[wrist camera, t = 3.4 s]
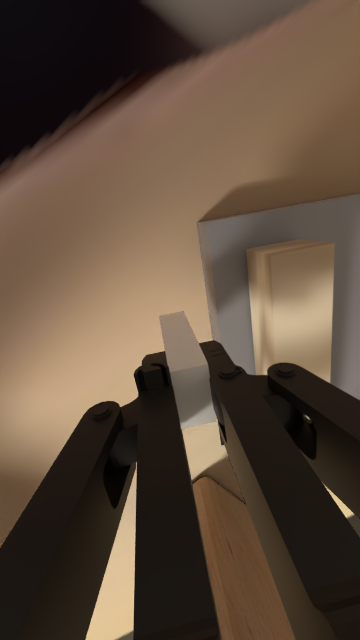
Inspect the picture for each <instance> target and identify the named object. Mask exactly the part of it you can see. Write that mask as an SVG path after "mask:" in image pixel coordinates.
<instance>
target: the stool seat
mask: <svg viewBox="0 0 360 640" xmlns="http://www.w3.org/2000/svg"><path fill="white" fill-rule="evenodd" d="M197 227H198V234H199V241H200V249H201V256H202V263H203V271H204V278H205V286H206V293H207V300H208V308H209V315H210V323H211V330H212V337H213V340H215V341H217V342H219V343H221V344H222V346H223V347H224V349H225V350H226V352H227V353H228V355H229V356H230V358H231V360H232V361H233V363H234V364H235V365H237V366H240V367H242V368H243V369H244V370H245V371H246V373H247V374H250V375H256V371H255V358H254V345H253V332H252V319H251V307H250V294H249V281H248V268H247V256H246V249H250V248H255V247H261V246H266V245H271V244H276V243H282V242H287V241H292V240H298V239H300V240H310V241H320V242H329V243H335V250H334V280H333V311H332V342H331V372H330V384H332V385H334V386H336V387H337V388H339V389H341V390H343V391H344V392H346V393H348V394H350V395H351V396H353V397H355V398H357V399H358V400H360V193H358V194H353V195H347V196H341V197H336V198H330V199H325V200H319V201H313V202H308V203H302V204H297V205H291V206H286V207H280V208H274V209H269V210H263V211H258V212H252V213H246V214H241V215H235V216H230V217H224V218H218V219H213V220H207V221H202V222H197Z"/></svg>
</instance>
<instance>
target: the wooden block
mask: <svg viewBox="0 0 360 640" xmlns="http://www.w3.org/2000/svg"><path fill="white" fill-rule="evenodd" d="M192 485H193V491H194V496H195V501H196V506H197V511H198V517H199V522H200V527H201V532H202V537H203V543H204V548H205V553H206V558H207V563H208V569H209V574H210V579H211V584H212V589H213V595H214V600H215V605H216V610H217V615H218V621H219V626H220V631H221V636H222V640H295V637H294V634H293V631H292V629H291V626H290V623H289V620H288V618H287V615H286V612H285V609H284V607H283V604H282V601H281V599H280V596H279V593H278V590H277V588H276V585H275V582H274V579H273V577H272V574H271V571H270V568H269V566H268V563H267V560H266V557H265V555H264V552H263V549H262V546H261V544H260V541H259V538H258V535H257V533H256V530H255V527H254V524H253V522H252V519H251V516H250V513H249V511H248V508H247V505H245V504H244V503H243V502H241V501H240V500H239V499H237V498H236V497H235V496H233V495H232V494H231V493H230V492H228V491H227V490H226V489H224V488H223V487H222V486H220V485H219V484H218V483H216V482H215V481H214V480H212V479H211V478H209V477H203V478H200V479H199V480H197V481H196V482H195V483H194V484H192Z"/></svg>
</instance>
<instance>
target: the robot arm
mask: <svg viewBox="0 0 360 640" xmlns="http://www.w3.org/2000/svg"><path fill="white" fill-rule="evenodd" d="M159 319H160V324H161V330H162V336H163V342H164V347H165V351H164V352H159V353H154V354H149V355H146V356H145V357H144V359H143V360H142V366H140V367H139V368H137V369H136V370H135V372H134V378H135V382H136V385H137V389H138V397H137V398H136V399H135V400H134V401H132V402H131V403H129V404H127V405H124V406H122V407H120V406H119V404H118V403H116V402H114V401H106V402H101V403H99V404H96V405H94V406H93V407H91V408H90V409H88V410H87V412H86V413H85V414H84V415H83V417H82V418H81V420H80V422H79V423H78V425H77V426H76V428H75V430H74V431H73V433H72V434H71V436H70V438H69V439H68V441H67V442H66V444H65V446H64V447H63V449H62V450H61V452H60V454H59V455H58V457H57V458H56V460H55V462H54V463H53V465H52V466H51V468H50V470H49V471H48V473H47V474H46V476H45V478H44V479H43V481H42V482H41V484H40V486H39V487H38V489H37V490H36V492H35V494H34V495H33V497H32V498H31V500H30V502H29V503H28V505H27V506H26V508H25V510H24V511H23V513H22V514H21V516H20V518H19V519H18V521H17V522H16V524H15V526H14V527H13V529H12V530H11V532H10V533H9V535H8V537H7V538H6V540H5V541H4V543H3V545H2V546H1V548H0V640H85V639H86V635H87V632H88V628H89V625H90V622H91V618H92V615H93V611H94V608H95V605H96V601H97V598H98V594H99V591H100V588H101V584H102V581H103V577H104V574H105V571H106V567H107V564H108V560H109V557H110V554H111V550H112V547H113V544H114V540H115V537H116V533H117V530H118V527H119V523H120V520H121V516H122V513H123V510H124V506H125V503H126V499H127V496H128V493H129V489H130V486H131V482H132V479H133V476H134V472H135V469H136V462H137V490H136V540H135V589H134V638H133V640H222V636H221V631H220V626H219V621H218V615H217V610H216V605H215V600H214V595H213V589H212V584H211V579H210V574H209V569H208V563H207V558H206V553H205V548H204V543H203V537H202V532H201V527H200V522H199V517H198V511H197V506H196V501H195V496H194V491H193V485H192V480H191V475H190V470H189V465H188V460H187V454H186V449H185V444H184V439H183V434H182V429H185V428H190V427H194V426H199V425H203V424H208V423H212V422H216V416H217V419H218V425H219V432H220V439H221V445H225V447H226V450H227V453H228V456H229V458H230V461H231V464H232V467H233V469H234V472H235V475H236V478H237V480H238V483H239V486H240V489H241V491H242V494H243V497H244V500H245V502H246V505H247V508H248V511H249V513H250V516H251V519H252V522H253V524H254V527H255V530H256V533H257V535H258V538H259V541H260V544H261V546H262V549H263V552H264V555H265V557H266V560H267V563H268V566H269V568H270V571H271V574H272V577H273V579H274V582H275V585H276V588H277V590H278V593H279V596H280V599H281V601H282V604H283V607H284V609H285V612H286V615H287V618H288V620H289V623H290V626H291V629H292V631H293V634H294V637H295V640H360V537H359V536H358V535H357V533H356V532H355V530H354V529H353V527H352V526H351V524H350V523H349V521H348V520H347V518H346V517H345V516H344V514H343V513H342V511H341V510H340V508H339V507H338V505H337V504H336V502H335V501H334V500H333V498H332V497H331V495H330V494H329V492H328V491H327V489H326V488H325V486H324V485H323V483H324V484H325V485H326V486H327V487H328V488H329V489H330V490H331V491H332V492H333V493H334V494H335V495H336V496H337V497H338V498H339V499H340V500H341V501H342V502H343V503H344V504H345V505H346V506H347V507H348V508H349V509H350V510H351V511H352V512H353V513H354V514H355V515H356V516H357V517H358V518H359V519H360V400H358V399H357V398H355V397H353V396H351V395H350V394H348V393H346V392H344V391H343V390H341V389H339V388H337V387H336V386H334V385H332V384H330V383H329V382H327V381H325V380H323V379H322V378H320V377H318V376H316V375H315V374H313V373H311V372H309V371H308V370H306V369H304V368H302V367H301V366H299V365H296V364H293V363H287V362H284V363H283V362H282V363H277V364H273V365H272V366H270V367H269V368H268V369H267V375H250V374H247V373H246V371H245V370H244V369H243V368H242V367H240V366H237V365H235V364H234V363H233V361H232V360H231V358H230V356H229V355H228V353H227V352H226V350H225V349H224V347H223V346H222V344H221V343H219V342H217V341H215V340H213V341H208V342H203V343H198V341H197V339H196V337H195V335H194V333H193V330H192V328H191V326H190V324H189V322H188V320H187V317H186V315H185V313H184V311H182V312H177V313H172V314H167V315H162V316H159ZM215 414H216V415H215ZM306 416H307V417H308V418H307V417H306ZM320 480H321V481H322V482H323V483H322V482H321V481H320Z"/></svg>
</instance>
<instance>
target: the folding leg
mask: <svg viewBox="0 0 360 640" xmlns="http://www.w3.org/2000/svg"><path fill="white" fill-rule="evenodd" d="M334 250H335V243H329V242H320V241H310V240H300V239H298V240H292V241H287V242H282V243H276V244H271V245H266V246H261V247H255V248H250V249H246V256H247V268H248V281H249V294H250V307H251V319H252V332H253V345H254V358H255V371H256V375H267V369H268V368H269V367H270V366H272V365H273V364H277V363H282V362H283V363H284V362H287V363H293V364H296V365H299V366H301V367H302V368H304V369H306V370H308V371H309V372H311V373H313V374H315V375H316V376H318V377H320V378H322V379H323V380H325V381H327V382H329V383H330V372H331V342H332V311H333V280H334ZM306 417H307V416H306ZM307 418H308V417H307Z"/></svg>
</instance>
